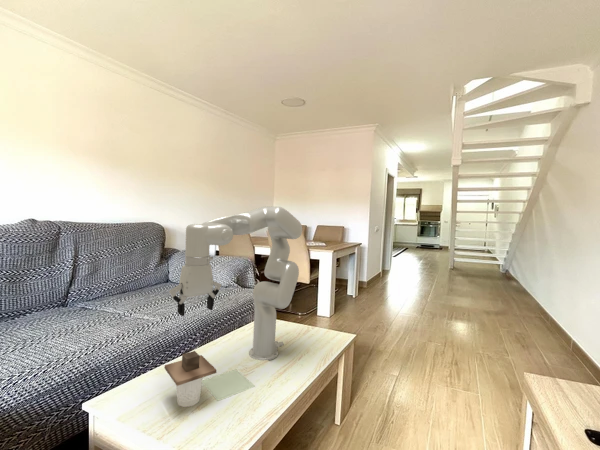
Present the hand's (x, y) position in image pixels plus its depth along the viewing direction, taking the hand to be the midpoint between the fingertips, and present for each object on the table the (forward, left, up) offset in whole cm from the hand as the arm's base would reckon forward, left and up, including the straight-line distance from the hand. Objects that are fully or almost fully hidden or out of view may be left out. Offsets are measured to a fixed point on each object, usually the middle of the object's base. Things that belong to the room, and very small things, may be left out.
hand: (196, 311), depth 97 cm
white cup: (+3, +5, -27) cm, 28 cm away
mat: (-11, +4, -27) cm, 29 cm away
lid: (+3, +5, -17) cm, 18 cm away
